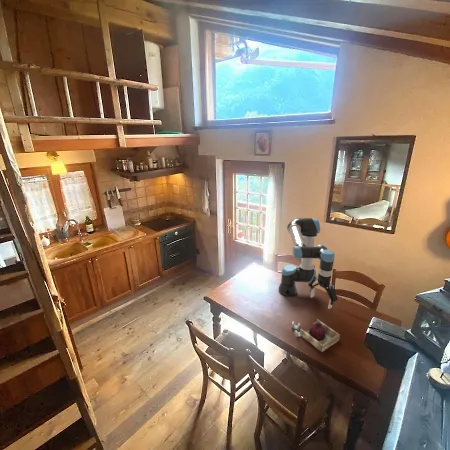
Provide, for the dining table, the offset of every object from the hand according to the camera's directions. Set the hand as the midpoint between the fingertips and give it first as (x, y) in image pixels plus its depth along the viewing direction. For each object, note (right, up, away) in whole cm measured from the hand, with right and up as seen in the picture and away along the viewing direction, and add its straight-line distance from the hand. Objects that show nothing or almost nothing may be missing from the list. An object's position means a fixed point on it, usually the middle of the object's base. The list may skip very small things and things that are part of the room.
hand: (320, 302), depth 161 cm
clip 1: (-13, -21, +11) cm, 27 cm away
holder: (0, -24, +2) cm, 24 cm away
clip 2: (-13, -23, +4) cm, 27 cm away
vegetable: (-1, -23, +4) cm, 24 cm away
